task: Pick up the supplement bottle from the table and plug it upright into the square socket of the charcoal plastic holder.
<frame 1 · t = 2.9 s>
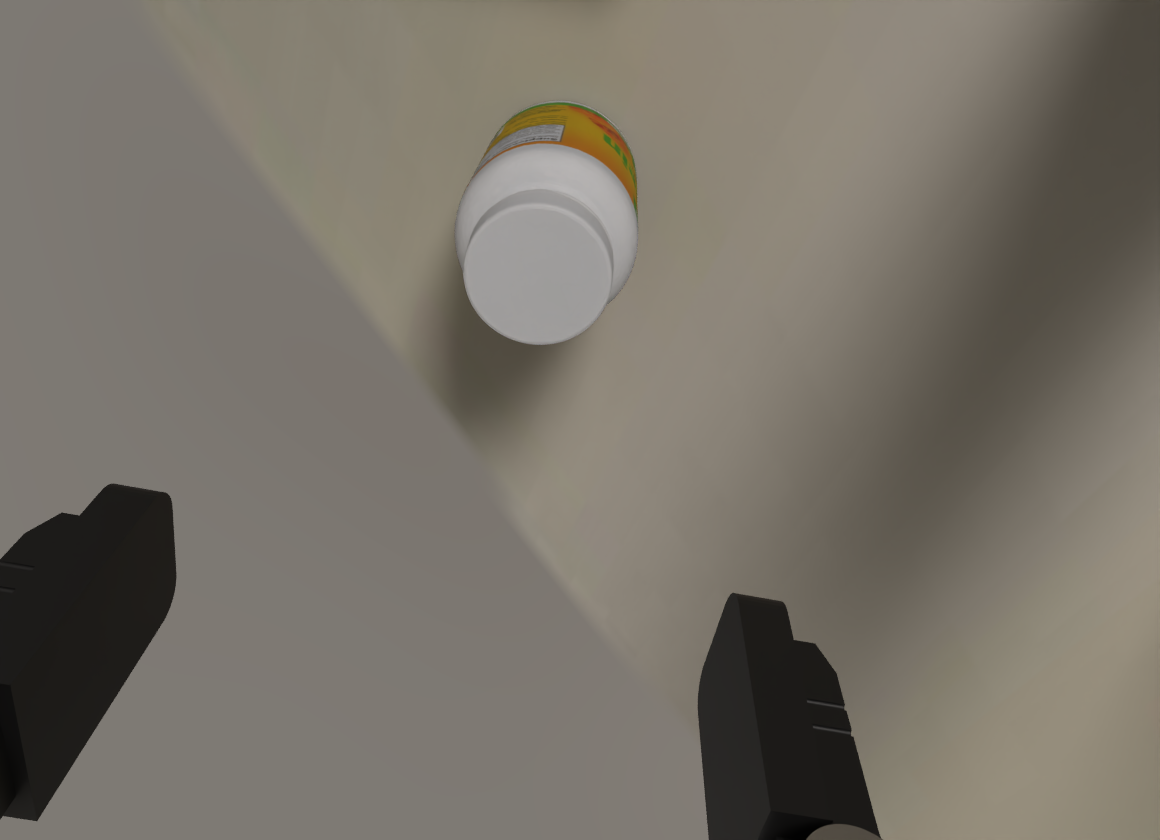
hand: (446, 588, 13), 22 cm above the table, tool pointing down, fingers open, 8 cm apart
supplement bottle: (561, 174, 32), on the table
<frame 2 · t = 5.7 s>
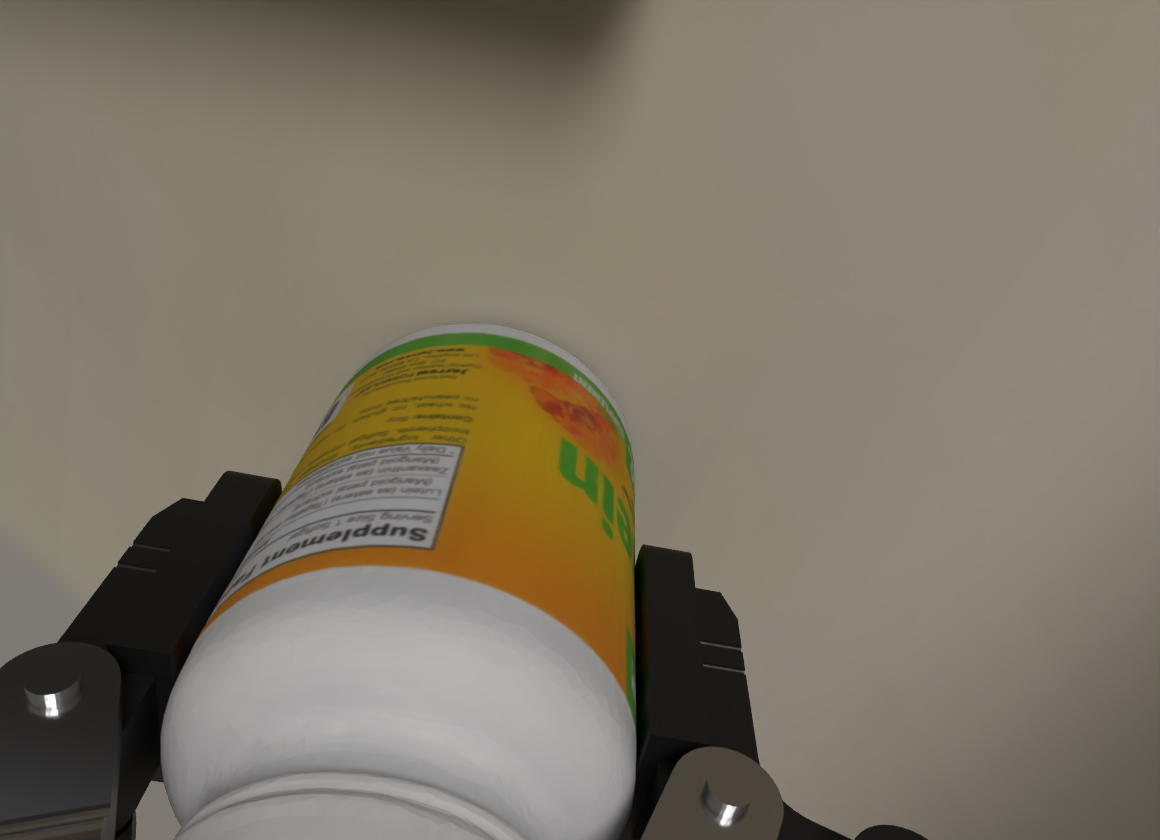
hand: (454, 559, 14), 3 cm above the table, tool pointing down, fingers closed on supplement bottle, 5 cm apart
supplement bottle: (485, 446, 16), on the table, touching gripper
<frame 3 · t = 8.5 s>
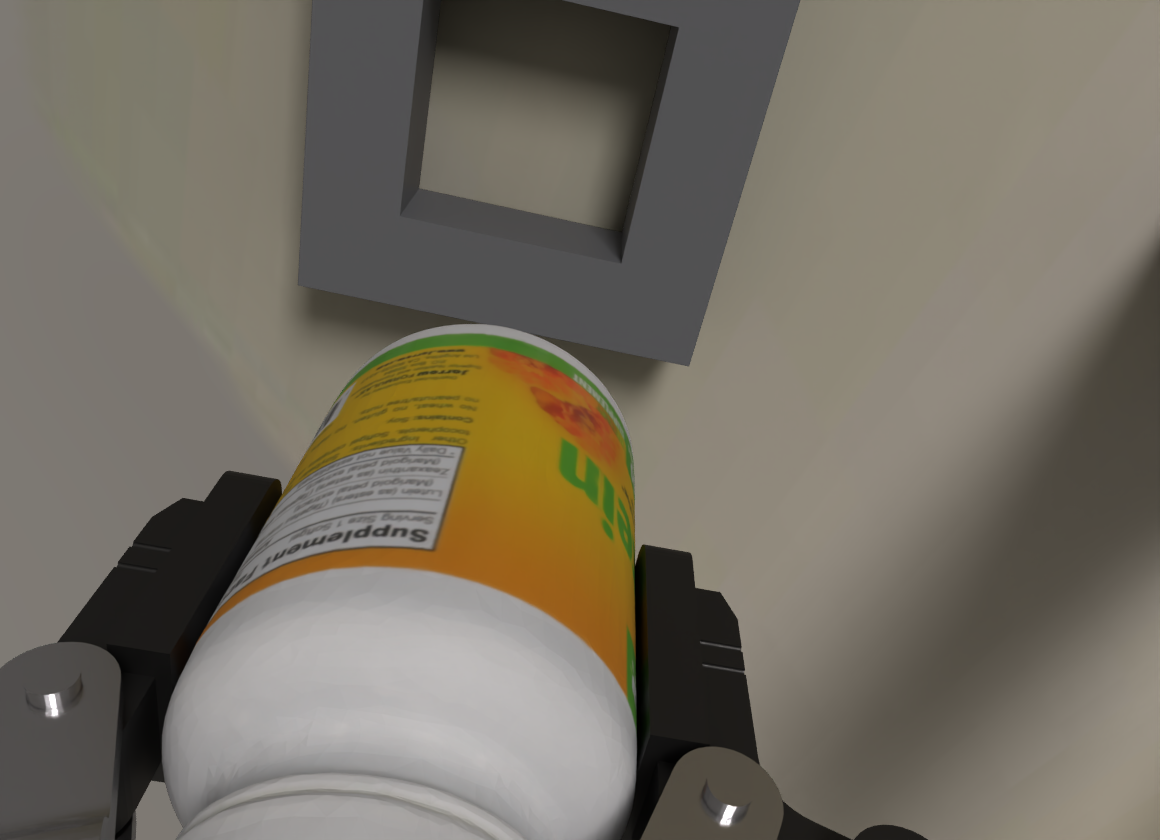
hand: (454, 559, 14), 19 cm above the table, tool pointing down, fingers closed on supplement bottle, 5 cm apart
socket holder: (539, 105, 29), on the table
supplement bottle: (485, 446, 16), point 16 cm above the table, touching gripper
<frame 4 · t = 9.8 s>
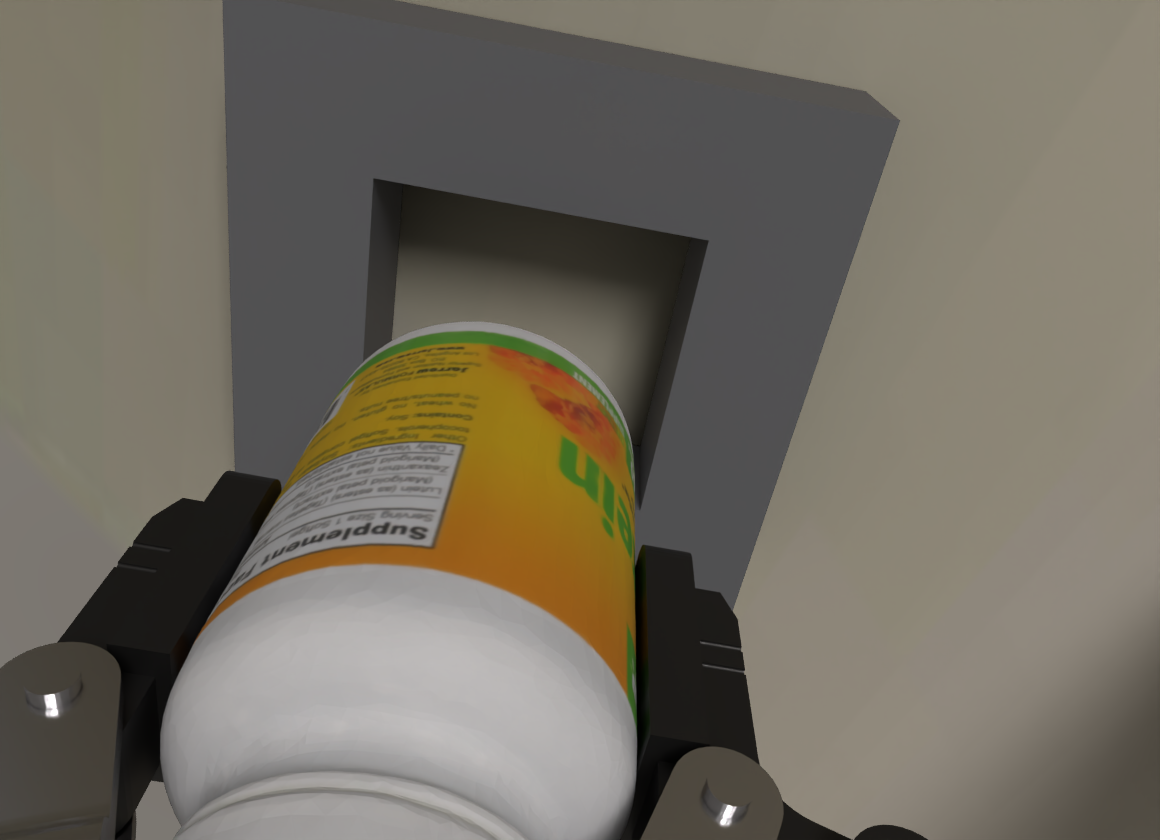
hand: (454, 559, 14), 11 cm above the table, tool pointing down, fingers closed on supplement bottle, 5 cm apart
socket holder: (532, 307, 23), on the table
supplement bottle: (485, 445, 16), point 7 cm above the table, touching gripper
when the fingers open (4 cm above the table, at t = 11.2 s): supplement bottle drops 1 cm, resting in socket holder.
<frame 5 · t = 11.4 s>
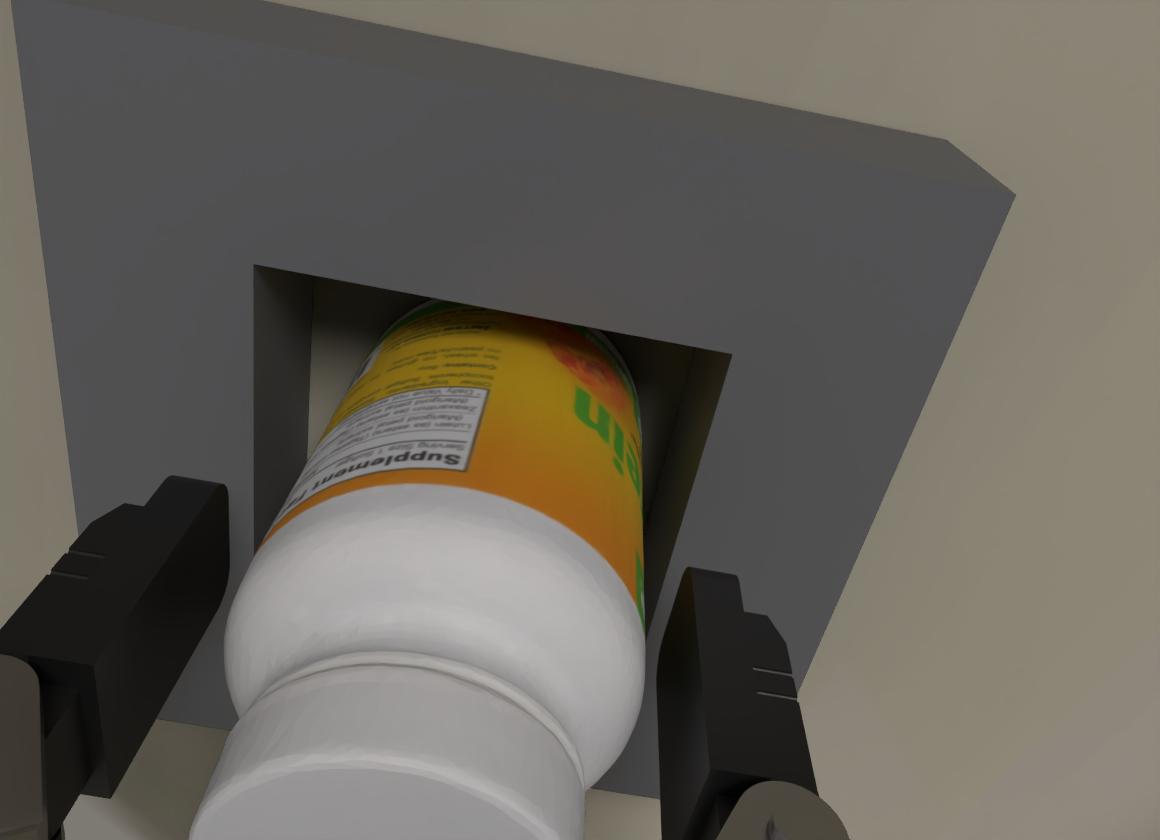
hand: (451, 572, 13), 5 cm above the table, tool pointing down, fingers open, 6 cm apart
socket holder: (491, 411, 17), on the table
supplement bottle: (502, 405, 18), resting in socket holder
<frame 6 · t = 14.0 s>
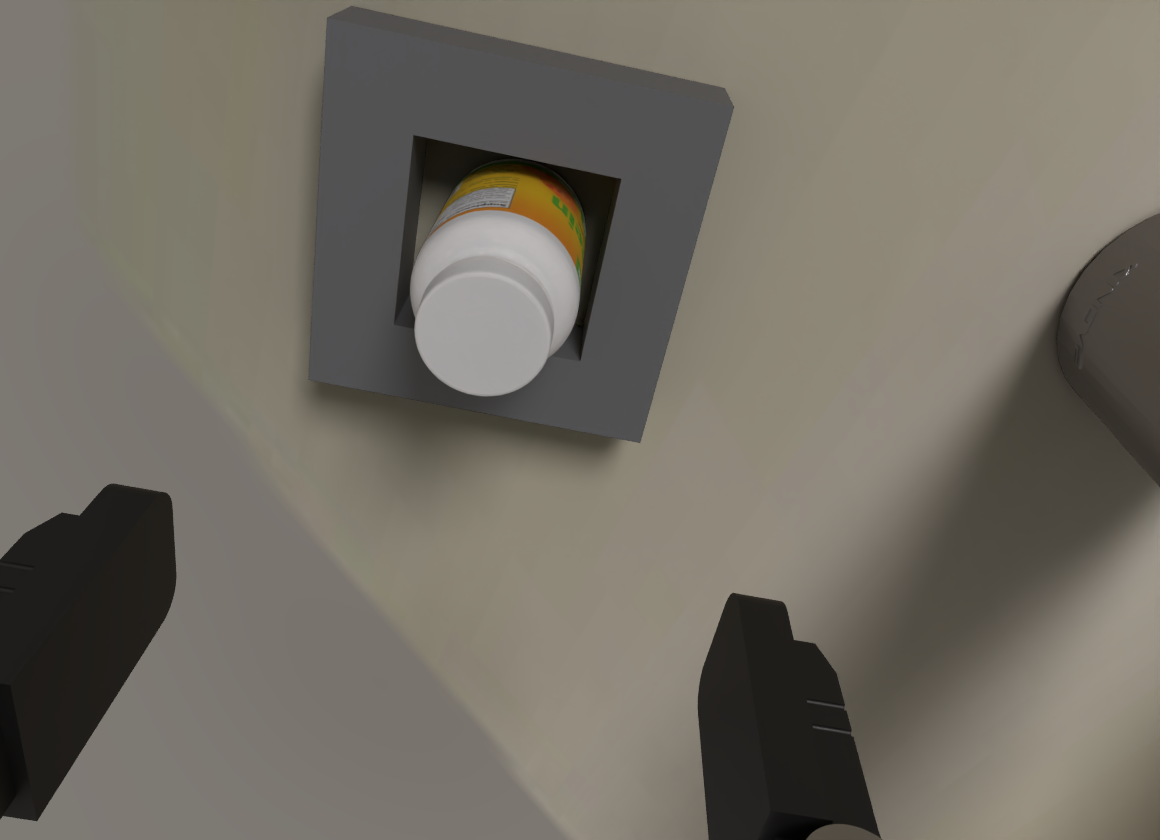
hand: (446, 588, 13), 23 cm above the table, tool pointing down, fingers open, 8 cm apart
socket holder: (510, 227, 34), on the table
supplement bottle: (516, 224, 35), resting in socket holder
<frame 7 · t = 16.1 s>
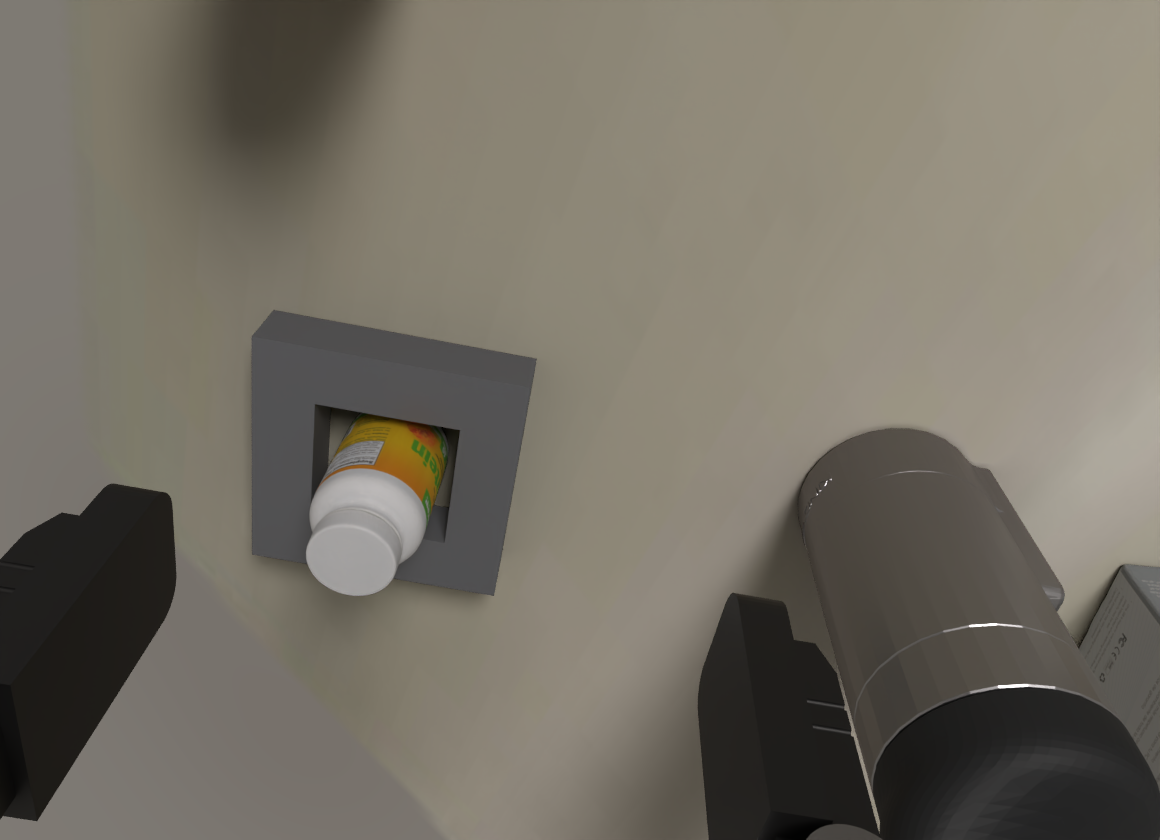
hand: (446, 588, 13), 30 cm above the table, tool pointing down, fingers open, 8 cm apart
socket holder: (395, 444, 48), on the table
supplement bottle: (400, 442, 48), resting in socket holder
hard drive box: (1129, 664, 54), on the table
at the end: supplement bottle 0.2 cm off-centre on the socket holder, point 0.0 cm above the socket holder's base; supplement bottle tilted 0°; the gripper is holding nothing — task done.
